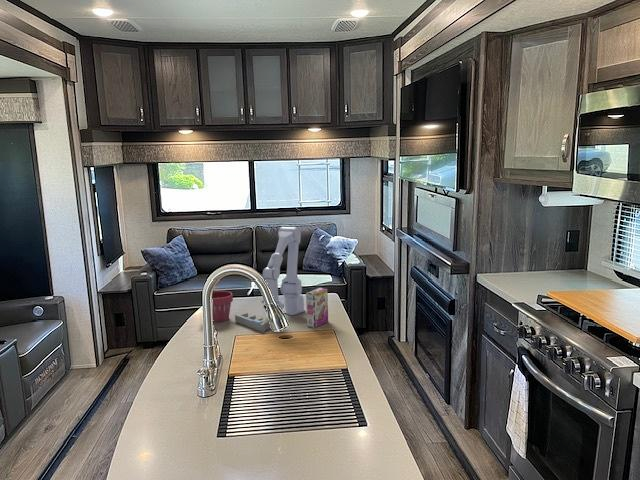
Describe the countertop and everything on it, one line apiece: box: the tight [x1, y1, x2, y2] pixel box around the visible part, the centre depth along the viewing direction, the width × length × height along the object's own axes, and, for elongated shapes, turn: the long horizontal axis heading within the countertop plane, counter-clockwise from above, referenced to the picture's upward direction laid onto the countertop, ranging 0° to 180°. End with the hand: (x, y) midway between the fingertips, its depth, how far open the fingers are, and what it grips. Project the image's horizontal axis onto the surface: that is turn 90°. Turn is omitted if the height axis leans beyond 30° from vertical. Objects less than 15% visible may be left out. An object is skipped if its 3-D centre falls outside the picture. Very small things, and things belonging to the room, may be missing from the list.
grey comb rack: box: [234, 312, 271, 333], centre depth 226 cm, size 6×22×4 cm, turn 44°
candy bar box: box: [305, 287, 329, 329], centre depth 222 cm, size 11×5×16 cm, turn 144°
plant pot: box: [212, 290, 234, 323], centre depth 236 cm, size 14×14×13 cm
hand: (273, 319), depth 227 cm, fingers closed on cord, 3 cm apart
